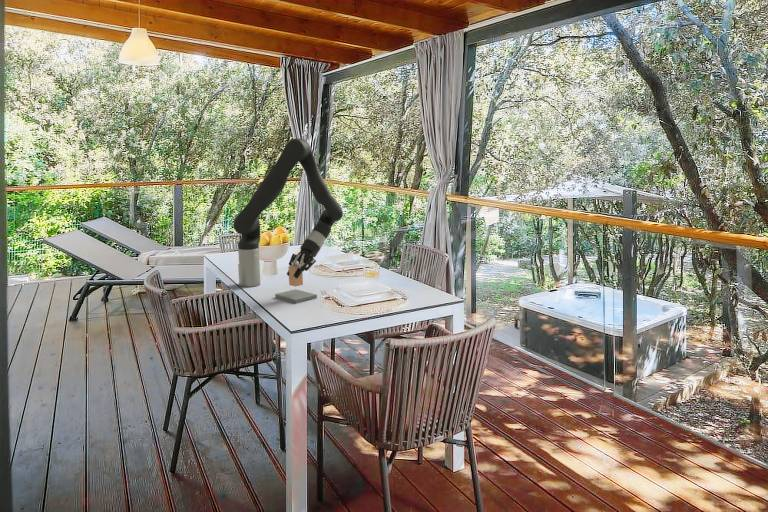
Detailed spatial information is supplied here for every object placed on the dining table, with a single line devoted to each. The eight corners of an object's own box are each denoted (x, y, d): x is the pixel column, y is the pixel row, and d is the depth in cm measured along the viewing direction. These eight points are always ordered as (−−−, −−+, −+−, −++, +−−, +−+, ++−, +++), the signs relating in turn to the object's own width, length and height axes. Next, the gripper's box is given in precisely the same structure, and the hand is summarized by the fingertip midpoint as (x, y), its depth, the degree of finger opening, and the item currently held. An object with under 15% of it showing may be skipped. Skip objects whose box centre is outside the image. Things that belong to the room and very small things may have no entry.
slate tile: (275, 297, 230) (275, 294, 230) (295, 292, 238) (295, 289, 238) (296, 303, 221) (296, 299, 221) (316, 298, 229) (316, 294, 229)
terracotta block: (289, 285, 228) (288, 266, 227) (296, 283, 231) (296, 264, 230) (295, 286, 226) (294, 267, 224) (302, 284, 229) (302, 266, 227)
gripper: (297, 236, 235) (275, 269, 229) (319, 240, 226) (297, 273, 219) (307, 247, 240) (286, 279, 233) (329, 250, 230) (308, 284, 224)
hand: (291, 276), depth 226 cm, fingers closed on terracotta block, 4 cm apart
